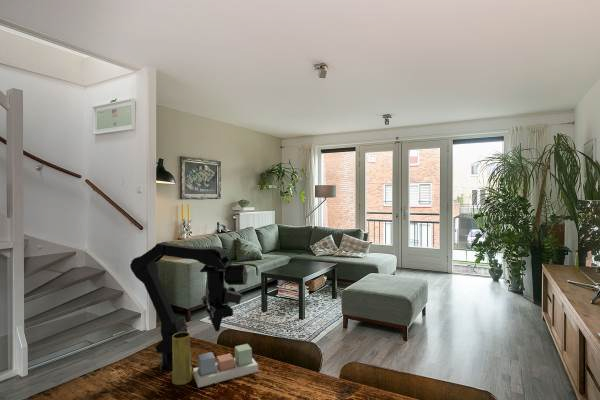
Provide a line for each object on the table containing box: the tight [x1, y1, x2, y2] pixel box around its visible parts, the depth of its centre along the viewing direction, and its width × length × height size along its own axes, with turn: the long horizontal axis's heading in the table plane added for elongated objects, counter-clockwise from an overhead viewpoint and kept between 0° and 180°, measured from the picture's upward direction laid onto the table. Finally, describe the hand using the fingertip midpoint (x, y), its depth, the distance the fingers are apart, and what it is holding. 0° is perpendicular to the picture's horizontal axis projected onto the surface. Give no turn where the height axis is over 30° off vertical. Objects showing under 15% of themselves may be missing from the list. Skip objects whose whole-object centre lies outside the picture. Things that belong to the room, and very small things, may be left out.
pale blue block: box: [197, 351, 216, 377], centre depth 110 cm, size 4×4×5 cm
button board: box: [192, 357, 259, 388], centre depth 113 cm, size 8×19×2 cm, turn 117°
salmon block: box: [216, 353, 235, 372], centre depth 112 cm, size 4×4×5 cm
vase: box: [171, 331, 194, 386], centre depth 109 cm, size 6×6×14 cm
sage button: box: [234, 343, 253, 367], centre depth 115 cm, size 4×4×5 cm
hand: (217, 331), depth 117 cm, fingers closed
